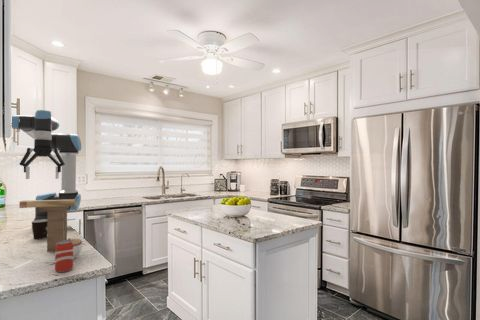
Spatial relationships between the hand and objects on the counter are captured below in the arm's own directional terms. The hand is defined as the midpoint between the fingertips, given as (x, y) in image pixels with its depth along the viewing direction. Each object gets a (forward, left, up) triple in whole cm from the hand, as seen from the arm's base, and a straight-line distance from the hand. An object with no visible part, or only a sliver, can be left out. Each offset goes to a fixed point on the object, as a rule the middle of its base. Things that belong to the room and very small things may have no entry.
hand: (42, 178), depth 152 cm
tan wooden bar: (+8, +5, -14) cm, 17 cm away
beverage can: (+41, +21, -36) cm, 59 cm away
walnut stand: (+8, +8, -36) cm, 38 cm away
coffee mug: (-21, -6, -36) cm, 42 cm away
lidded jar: (+25, +19, -36) cm, 48 cm away
